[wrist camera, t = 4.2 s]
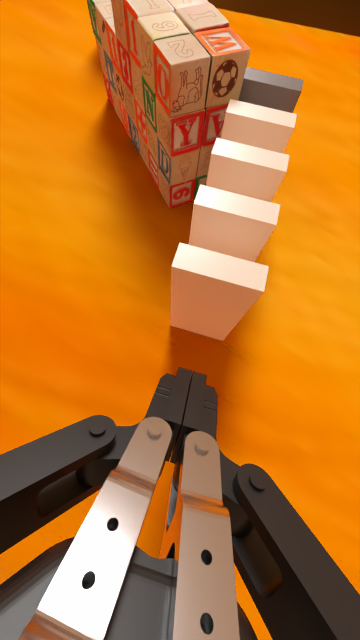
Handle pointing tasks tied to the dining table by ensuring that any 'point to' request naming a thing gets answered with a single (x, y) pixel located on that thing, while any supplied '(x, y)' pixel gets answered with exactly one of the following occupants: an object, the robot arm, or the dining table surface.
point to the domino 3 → (246, 169)
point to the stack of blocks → (170, 83)
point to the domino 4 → (231, 223)
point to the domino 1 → (270, 90)
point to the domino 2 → (258, 126)
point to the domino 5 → (212, 290)
